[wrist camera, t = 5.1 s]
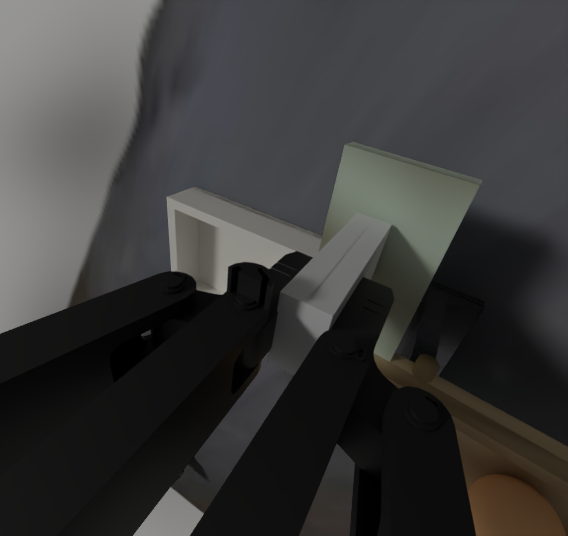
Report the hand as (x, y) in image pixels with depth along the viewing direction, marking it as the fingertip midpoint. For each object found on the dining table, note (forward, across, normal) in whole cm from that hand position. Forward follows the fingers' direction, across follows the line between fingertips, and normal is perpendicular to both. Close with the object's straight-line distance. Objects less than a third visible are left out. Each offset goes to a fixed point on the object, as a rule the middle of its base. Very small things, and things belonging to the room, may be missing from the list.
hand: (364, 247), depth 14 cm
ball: (-2, +10, -8) cm, 13 cm away
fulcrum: (+6, +4, -8) cm, 11 cm away
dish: (+7, -9, -8) cm, 14 cm away
